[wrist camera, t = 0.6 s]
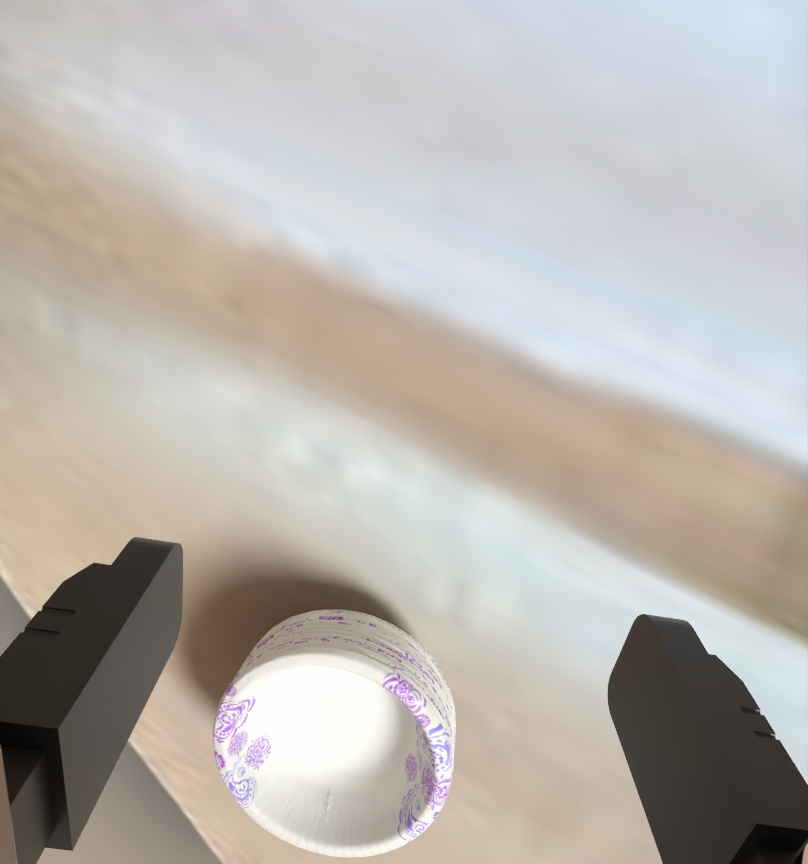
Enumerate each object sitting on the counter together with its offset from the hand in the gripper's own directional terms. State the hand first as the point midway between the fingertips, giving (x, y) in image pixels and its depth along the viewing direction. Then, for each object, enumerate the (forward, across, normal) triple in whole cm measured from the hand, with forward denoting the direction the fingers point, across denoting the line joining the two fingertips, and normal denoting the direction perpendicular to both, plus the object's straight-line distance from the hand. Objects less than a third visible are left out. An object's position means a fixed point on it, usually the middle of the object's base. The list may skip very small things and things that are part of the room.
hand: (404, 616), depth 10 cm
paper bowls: (+24, 0, +28) cm, 36 cm away
